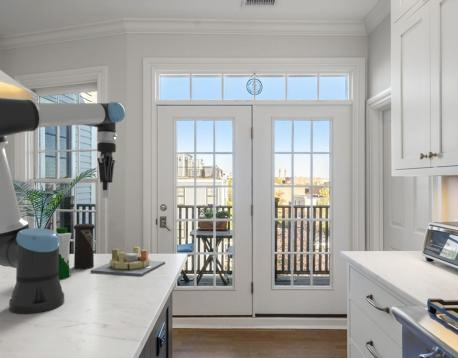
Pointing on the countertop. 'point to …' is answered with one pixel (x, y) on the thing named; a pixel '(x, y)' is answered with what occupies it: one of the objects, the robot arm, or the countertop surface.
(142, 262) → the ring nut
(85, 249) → the container
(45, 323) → the countertop surface
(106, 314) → the countertop surface
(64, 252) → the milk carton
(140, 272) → the slate plate
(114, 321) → the countertop surface
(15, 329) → the countertop surface
